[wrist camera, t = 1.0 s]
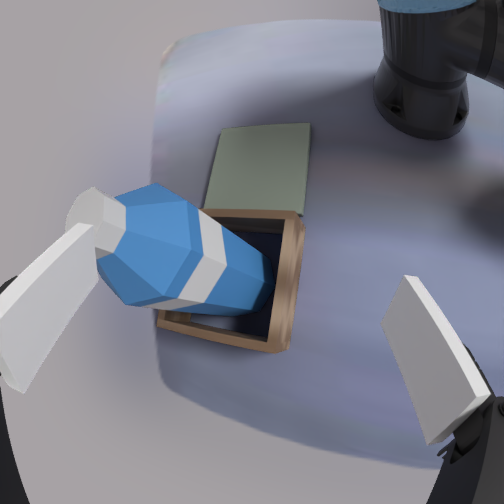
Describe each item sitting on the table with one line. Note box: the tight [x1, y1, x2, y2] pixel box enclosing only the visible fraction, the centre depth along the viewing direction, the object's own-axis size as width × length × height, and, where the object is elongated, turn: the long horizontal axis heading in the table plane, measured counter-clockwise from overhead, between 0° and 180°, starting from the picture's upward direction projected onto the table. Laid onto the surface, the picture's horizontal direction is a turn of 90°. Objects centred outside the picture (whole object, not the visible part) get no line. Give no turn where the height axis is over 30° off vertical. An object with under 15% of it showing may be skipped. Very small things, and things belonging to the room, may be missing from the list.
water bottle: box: [65, 183, 275, 317], centre depth 27 cm, size 9×9×25 cm
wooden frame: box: [157, 208, 305, 354], centre depth 36 cm, size 15×15×6 cm
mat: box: [204, 123, 311, 216], centre depth 41 cm, size 14×14×1 cm
